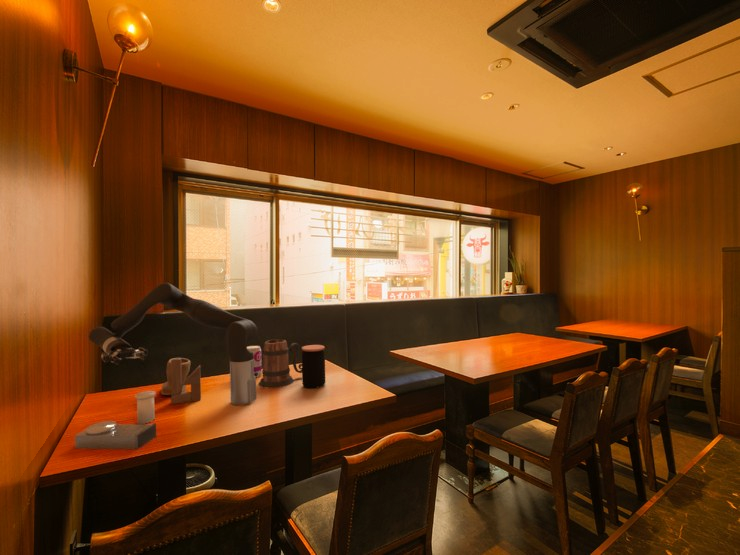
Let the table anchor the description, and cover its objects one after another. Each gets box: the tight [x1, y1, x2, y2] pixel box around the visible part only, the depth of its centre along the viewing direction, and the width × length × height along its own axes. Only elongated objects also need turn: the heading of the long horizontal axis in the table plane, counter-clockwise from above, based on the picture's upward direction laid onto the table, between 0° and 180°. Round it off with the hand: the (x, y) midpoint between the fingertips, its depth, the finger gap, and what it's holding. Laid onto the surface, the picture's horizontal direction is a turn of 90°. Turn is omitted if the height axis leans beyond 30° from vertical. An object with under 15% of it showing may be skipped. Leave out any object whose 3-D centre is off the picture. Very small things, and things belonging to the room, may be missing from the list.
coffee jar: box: [301, 344, 326, 390], centre depth 164 cm, size 11×11×18 cm
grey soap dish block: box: [74, 420, 157, 450], centre depth 111 cm, size 20×8×5 cm, turn 86°
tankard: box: [258, 339, 302, 389], centre depth 172 cm, size 24×17×20 cm
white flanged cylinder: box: [135, 390, 156, 425], centre depth 127 cm, size 6×6×10 cm
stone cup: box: [160, 357, 192, 396], centre depth 159 cm, size 15×12×15 cm
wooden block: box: [170, 357, 202, 405], centre depth 146 cm, size 4×11×18 cm, turn 114°
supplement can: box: [247, 345, 263, 378], centre depth 181 cm, size 8×8×15 cm
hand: (132, 360), depth 133 cm, fingers open, 8 cm apart
